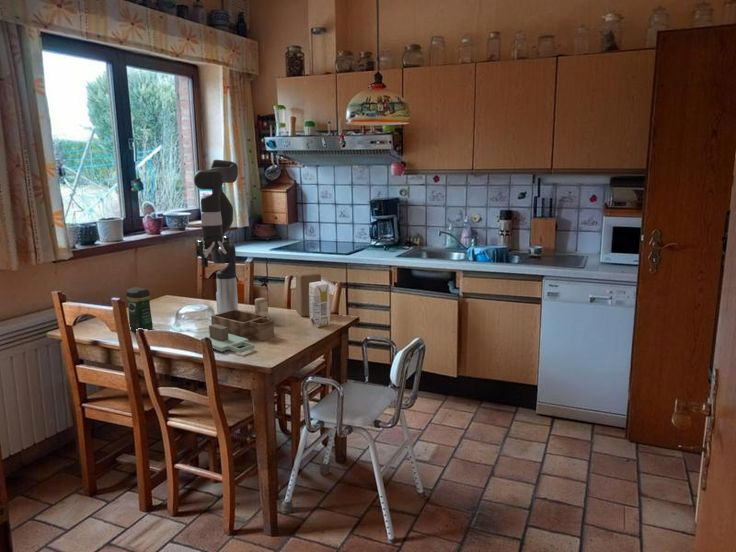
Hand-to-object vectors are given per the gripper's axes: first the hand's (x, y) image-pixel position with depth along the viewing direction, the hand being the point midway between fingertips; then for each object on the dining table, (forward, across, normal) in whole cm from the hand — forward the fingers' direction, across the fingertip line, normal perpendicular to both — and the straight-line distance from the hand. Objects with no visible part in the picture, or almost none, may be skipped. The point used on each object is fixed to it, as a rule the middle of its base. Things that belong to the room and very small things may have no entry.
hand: (214, 265), depth 220 cm
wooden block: (+32, -54, 0) cm, 63 cm away
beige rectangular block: (+32, -31, -8) cm, 45 cm away
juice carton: (+32, -43, +16) cm, 56 cm away
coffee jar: (+32, +6, -44) cm, 55 cm away
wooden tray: (+32, -16, -3) cm, 36 cm away
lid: (+32, 0, +3) cm, 33 cm away
